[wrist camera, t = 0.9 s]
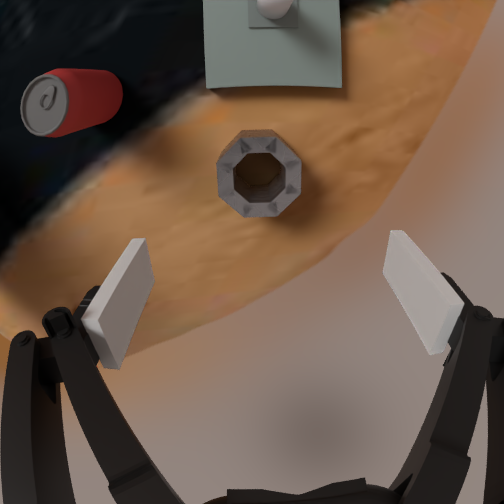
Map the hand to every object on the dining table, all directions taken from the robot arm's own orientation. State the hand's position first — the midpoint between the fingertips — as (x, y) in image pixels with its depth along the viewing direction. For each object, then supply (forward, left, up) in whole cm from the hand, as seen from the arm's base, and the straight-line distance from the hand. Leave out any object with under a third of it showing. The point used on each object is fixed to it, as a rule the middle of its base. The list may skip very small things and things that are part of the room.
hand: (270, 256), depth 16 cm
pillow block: (+2, +18, -21) cm, 28 cm away
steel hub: (0, 0, -21) cm, 21 cm away
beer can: (-18, +10, -21) cm, 30 cm away
